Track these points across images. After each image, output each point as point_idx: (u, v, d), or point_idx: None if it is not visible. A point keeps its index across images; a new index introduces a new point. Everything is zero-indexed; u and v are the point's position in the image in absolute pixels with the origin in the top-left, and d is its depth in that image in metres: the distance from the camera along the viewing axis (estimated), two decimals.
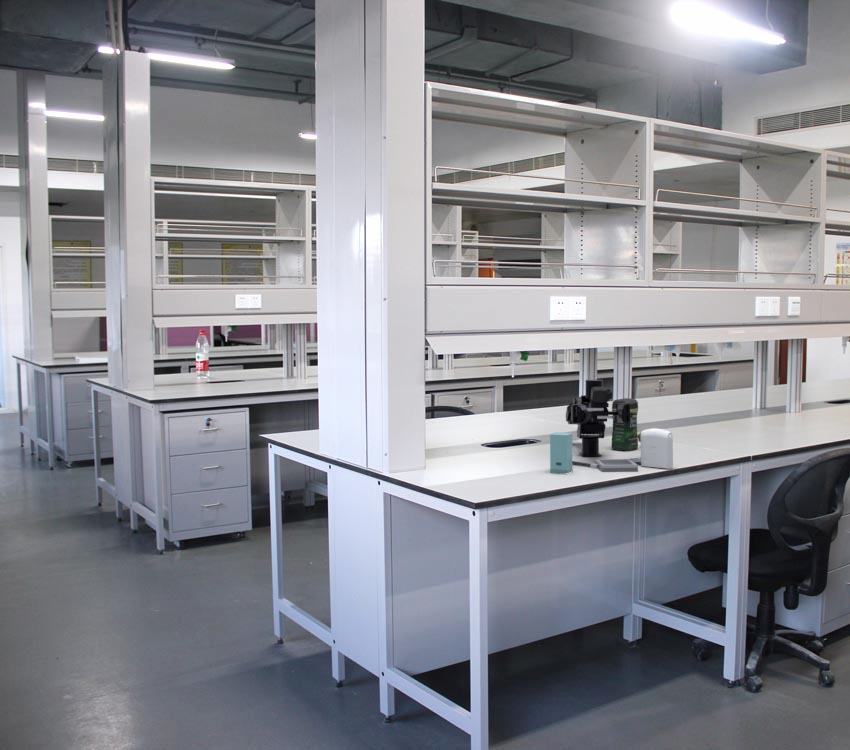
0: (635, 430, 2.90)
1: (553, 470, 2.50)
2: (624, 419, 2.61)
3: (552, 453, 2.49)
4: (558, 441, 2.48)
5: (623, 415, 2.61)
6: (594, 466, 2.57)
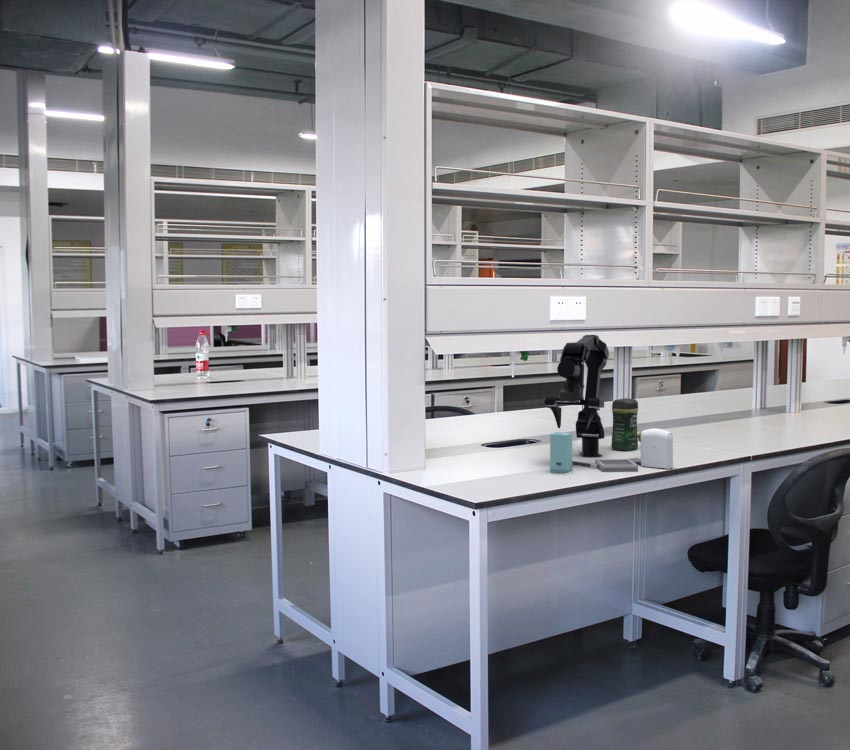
0: (635, 430, 2.90)
1: (553, 470, 2.50)
2: None
3: (552, 453, 2.49)
4: (558, 441, 2.48)
5: (595, 409, 2.59)
6: (594, 466, 2.57)
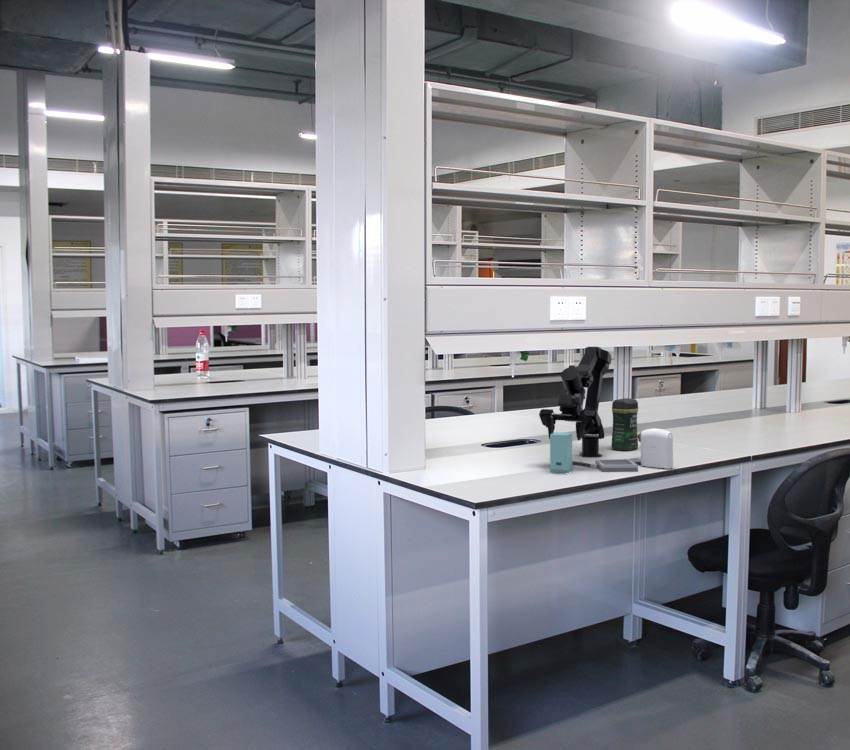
0: (635, 430, 2.90)
1: (553, 470, 2.50)
2: (592, 427, 2.55)
3: (552, 453, 2.49)
4: (558, 441, 2.48)
5: (590, 425, 2.54)
6: (594, 466, 2.57)
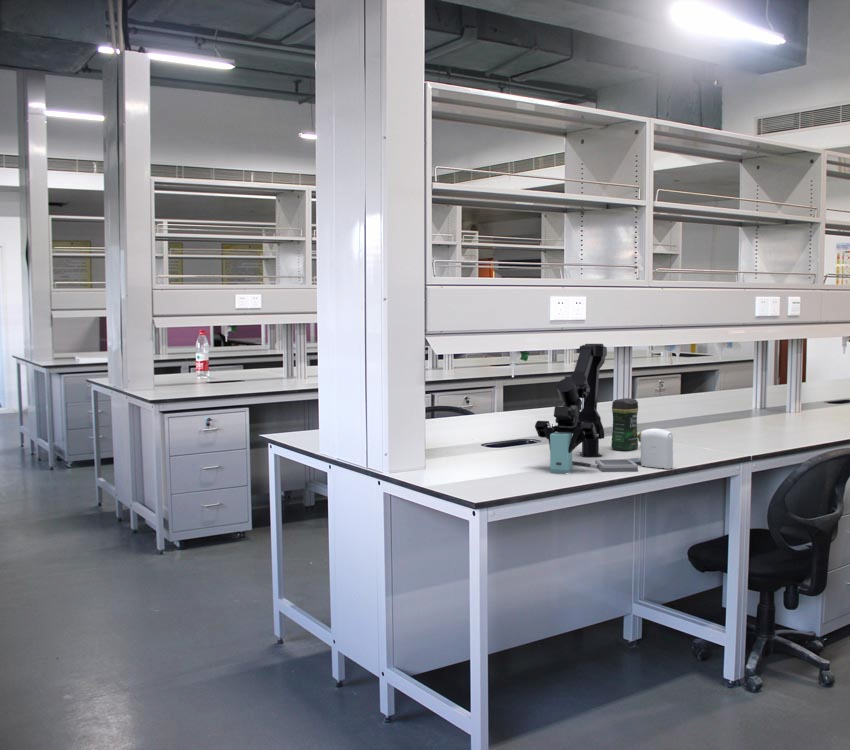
0: (635, 430, 2.90)
1: (553, 470, 2.50)
2: (583, 439, 2.52)
3: (552, 453, 2.49)
4: (558, 441, 2.48)
5: (581, 436, 2.51)
6: (594, 466, 2.57)
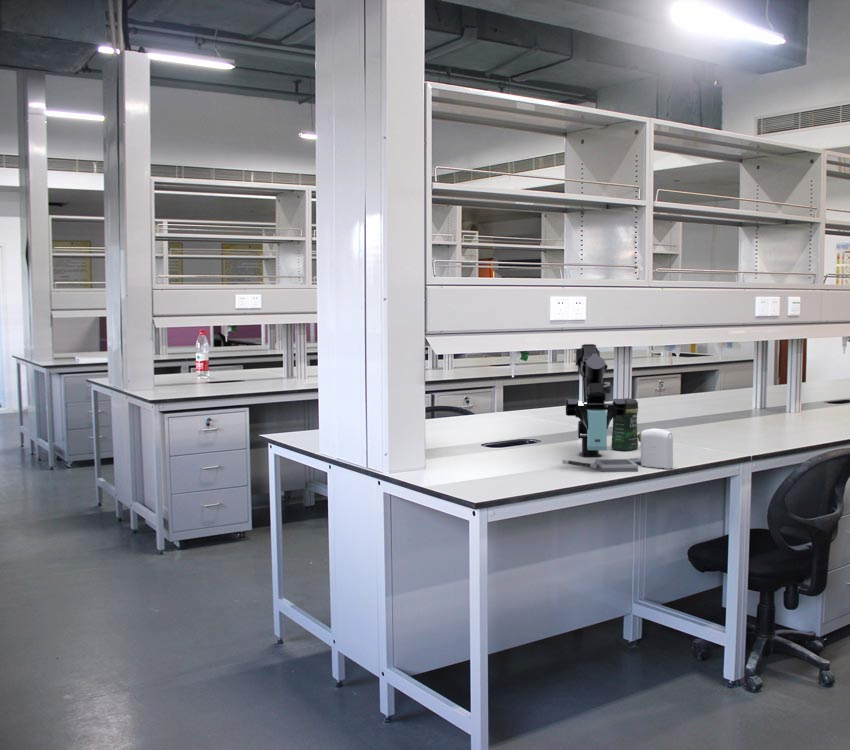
0: (635, 430, 2.90)
1: (591, 447, 2.50)
2: (614, 415, 2.55)
3: (590, 430, 2.50)
4: (596, 418, 2.49)
5: (613, 413, 2.54)
6: (594, 466, 2.57)
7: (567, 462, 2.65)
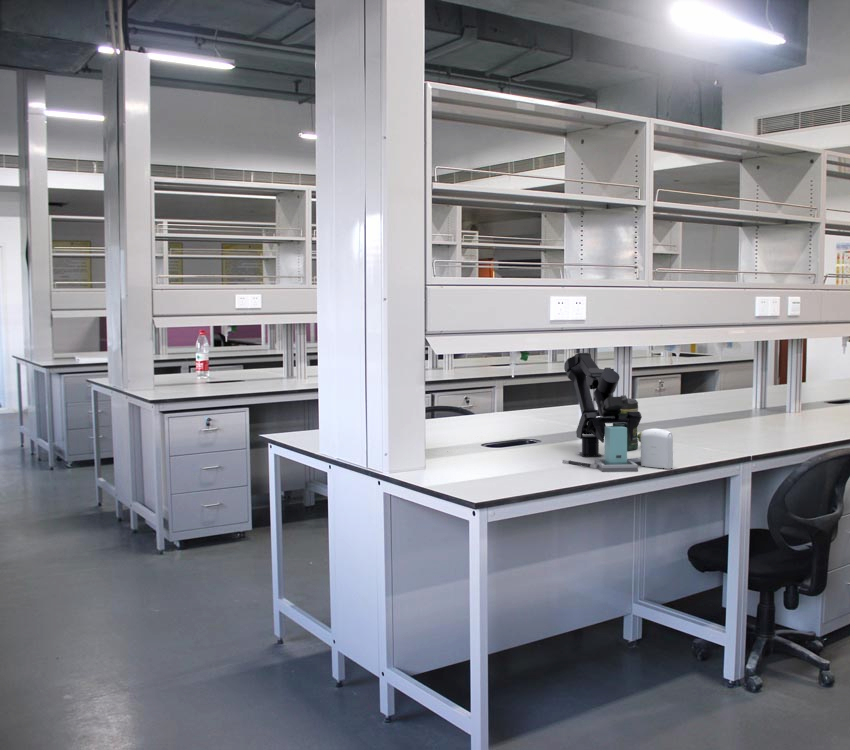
0: (635, 430, 2.90)
1: (613, 463, 2.53)
2: (632, 427, 2.60)
3: (612, 447, 2.52)
4: (617, 434, 2.52)
5: None
6: (594, 466, 2.57)
7: (567, 462, 2.65)
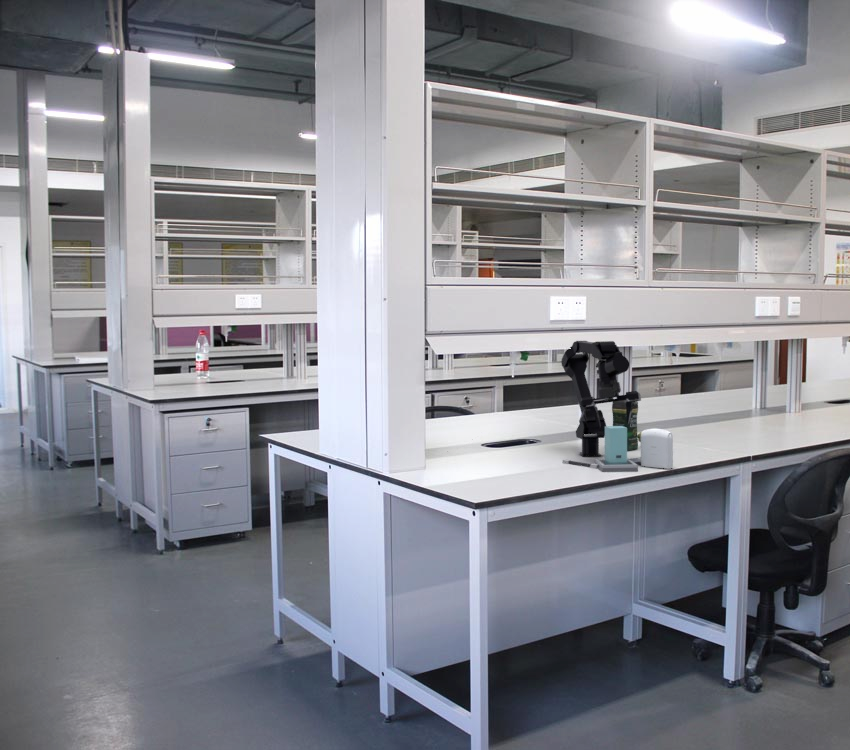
0: (635, 430, 2.90)
1: (613, 463, 2.53)
2: (635, 403, 2.63)
3: (612, 447, 2.52)
4: (617, 434, 2.52)
5: (633, 403, 2.62)
6: (594, 466, 2.57)
7: (567, 462, 2.65)
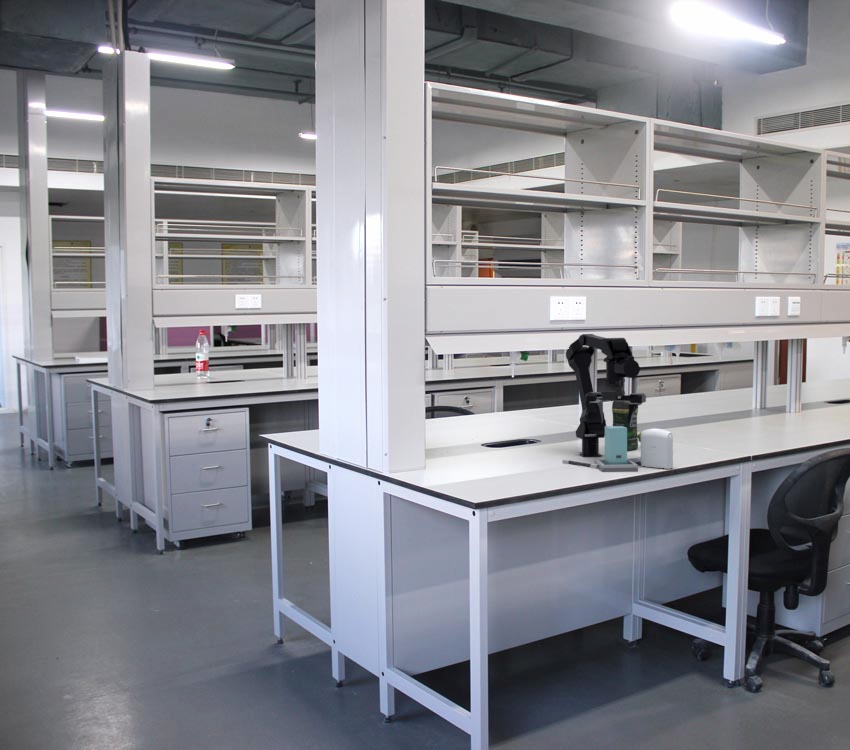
0: (635, 430, 2.90)
1: (613, 463, 2.53)
2: None
3: (612, 447, 2.52)
4: (617, 434, 2.52)
5: None
6: (594, 466, 2.57)
7: (567, 462, 2.65)
